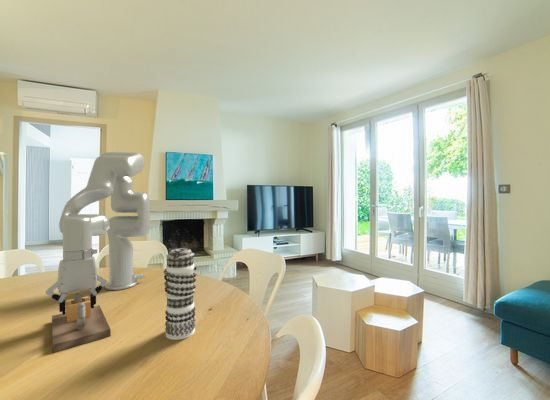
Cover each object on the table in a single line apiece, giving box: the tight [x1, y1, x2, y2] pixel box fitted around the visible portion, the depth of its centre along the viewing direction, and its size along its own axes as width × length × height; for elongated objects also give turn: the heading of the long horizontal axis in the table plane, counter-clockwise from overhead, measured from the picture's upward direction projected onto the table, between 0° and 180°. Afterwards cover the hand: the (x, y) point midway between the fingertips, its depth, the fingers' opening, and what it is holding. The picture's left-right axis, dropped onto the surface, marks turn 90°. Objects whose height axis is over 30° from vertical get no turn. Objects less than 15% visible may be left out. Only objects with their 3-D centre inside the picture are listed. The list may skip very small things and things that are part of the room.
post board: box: [51, 292, 112, 353], centre depth 83 cm, size 13×22×10 cm, turn 40°
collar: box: [65, 295, 91, 323], centre depth 86 cm, size 6×6×5 cm
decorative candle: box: [163, 247, 197, 341], centre depth 80 cm, size 9×9×25 cm
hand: (78, 309), depth 86 cm, fingers open, 6 cm apart
